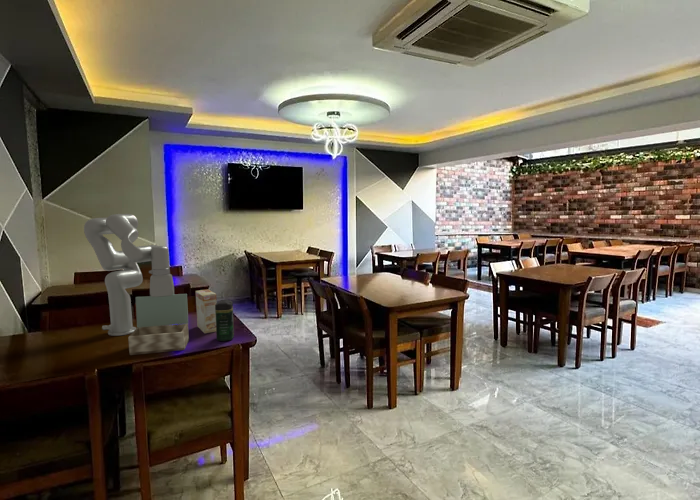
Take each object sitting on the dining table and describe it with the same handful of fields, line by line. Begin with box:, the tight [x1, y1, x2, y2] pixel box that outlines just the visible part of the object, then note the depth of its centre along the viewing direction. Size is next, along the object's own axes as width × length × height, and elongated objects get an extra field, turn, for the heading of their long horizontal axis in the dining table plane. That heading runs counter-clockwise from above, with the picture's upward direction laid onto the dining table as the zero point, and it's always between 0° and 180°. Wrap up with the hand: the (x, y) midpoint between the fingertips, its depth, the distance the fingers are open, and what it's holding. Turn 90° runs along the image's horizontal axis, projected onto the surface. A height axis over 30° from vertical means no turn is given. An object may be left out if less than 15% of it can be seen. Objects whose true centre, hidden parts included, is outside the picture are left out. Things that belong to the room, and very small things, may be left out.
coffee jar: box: [215, 299, 235, 342], centre depth 190 cm, size 10×8×19 cm
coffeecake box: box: [195, 289, 217, 334], centre depth 206 cm, size 15×7×20 cm, turn 34°
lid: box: [135, 293, 189, 328], centre depth 187 cm, size 22×15×2 cm
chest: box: [128, 323, 190, 356], centre depth 180 cm, size 22×14×8 cm, turn 104°
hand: (163, 310), depth 189 cm, fingers closed
